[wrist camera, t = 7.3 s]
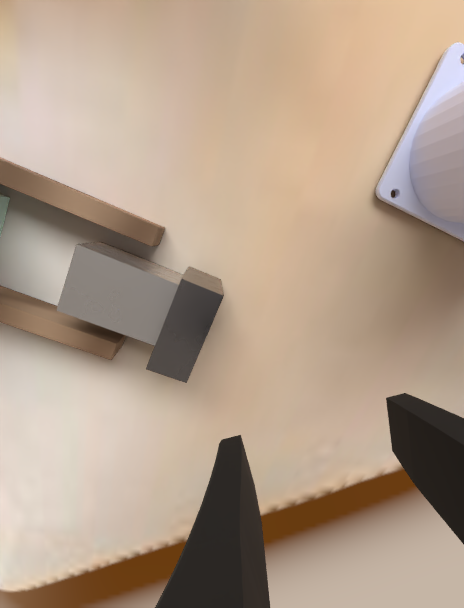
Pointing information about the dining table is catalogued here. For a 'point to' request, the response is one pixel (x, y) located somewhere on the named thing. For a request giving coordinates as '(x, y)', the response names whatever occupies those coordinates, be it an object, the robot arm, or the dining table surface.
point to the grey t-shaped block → (143, 303)
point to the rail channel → (43, 315)
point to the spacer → (3, 209)
